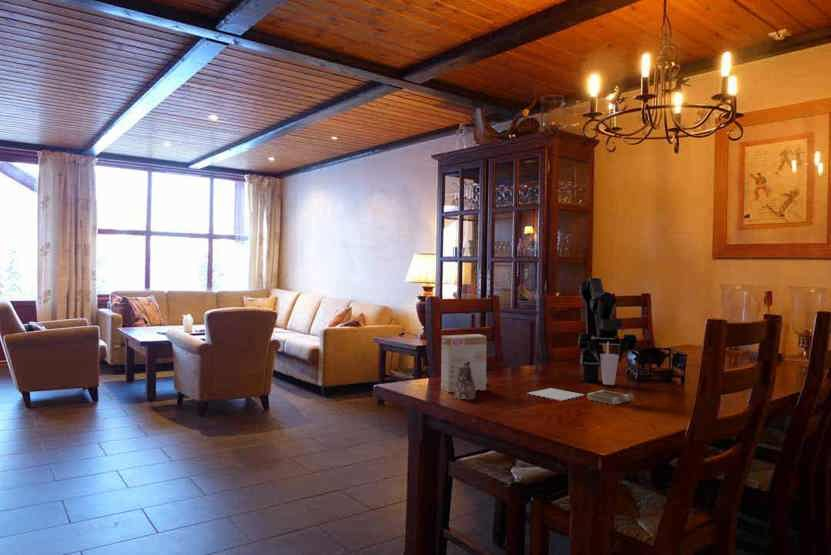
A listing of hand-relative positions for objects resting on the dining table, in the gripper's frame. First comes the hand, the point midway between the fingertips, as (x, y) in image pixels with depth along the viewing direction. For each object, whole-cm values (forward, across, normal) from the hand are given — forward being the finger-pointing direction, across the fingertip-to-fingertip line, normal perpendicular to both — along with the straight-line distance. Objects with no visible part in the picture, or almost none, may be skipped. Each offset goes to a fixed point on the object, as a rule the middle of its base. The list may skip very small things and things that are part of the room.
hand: (610, 361), depth 196 cm
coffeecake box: (+4, -49, +15) cm, 51 cm away
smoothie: (+5, 0, +6) cm, 8 cm away
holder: (+8, 0, +10) cm, 13 cm away
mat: (+5, -17, +14) cm, 22 cm away
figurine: (+12, -48, +6) cm, 50 cm away
